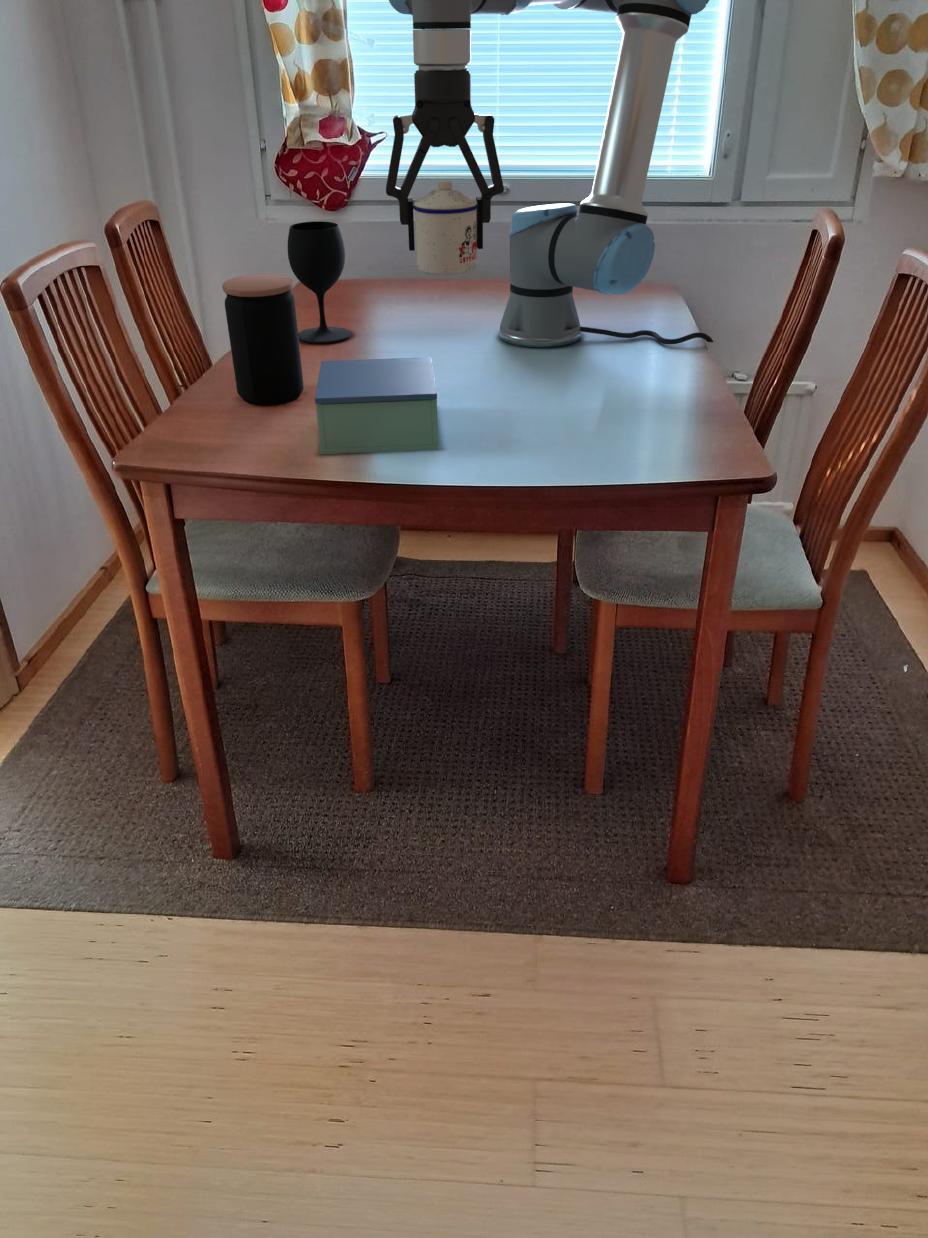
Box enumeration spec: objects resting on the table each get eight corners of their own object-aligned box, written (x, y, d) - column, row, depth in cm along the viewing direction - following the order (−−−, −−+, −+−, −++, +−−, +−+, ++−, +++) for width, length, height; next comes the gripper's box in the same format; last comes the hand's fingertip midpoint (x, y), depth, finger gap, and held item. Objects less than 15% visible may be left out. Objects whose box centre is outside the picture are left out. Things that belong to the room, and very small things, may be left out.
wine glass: (286, 341, 181) (273, 229, 171) (314, 326, 189) (303, 218, 179) (335, 346, 178) (325, 232, 167) (360, 331, 186) (352, 221, 175)
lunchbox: (438, 449, 136) (436, 399, 132) (321, 454, 135) (315, 404, 131) (432, 408, 150) (431, 362, 146) (326, 412, 149) (321, 366, 145)
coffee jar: (316, 388, 158) (304, 276, 149) (285, 410, 150) (271, 292, 140) (258, 382, 161) (244, 271, 152) (225, 403, 153) (208, 287, 143)
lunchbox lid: (437, 399, 131) (437, 393, 131) (315, 404, 130) (314, 398, 130) (431, 362, 146) (431, 356, 146) (321, 366, 145) (321, 360, 145)
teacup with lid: (472, 277, 134) (471, 186, 128) (409, 275, 135) (405, 185, 129) (486, 258, 144) (486, 173, 137) (427, 256, 145) (424, 172, 139)
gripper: (521, 65, 130) (517, 240, 142) (359, 67, 128) (370, 244, 140) (528, 67, 123) (524, 251, 135) (358, 70, 122) (369, 255, 134)
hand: (445, 247), depth 138 cm, fingers closed on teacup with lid, 9 cm apart
